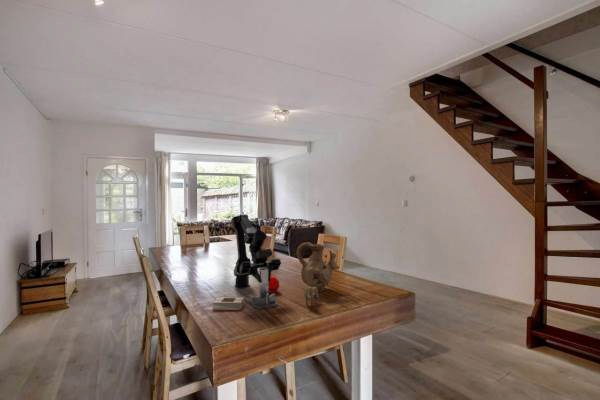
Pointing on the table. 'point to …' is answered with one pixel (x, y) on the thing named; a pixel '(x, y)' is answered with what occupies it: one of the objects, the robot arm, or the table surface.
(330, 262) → the ceramic vessel
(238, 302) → the block with rectangular hole
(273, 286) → the ball
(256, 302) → the V-block
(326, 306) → the table surface
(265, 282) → the axle
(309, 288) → the lion figurine
